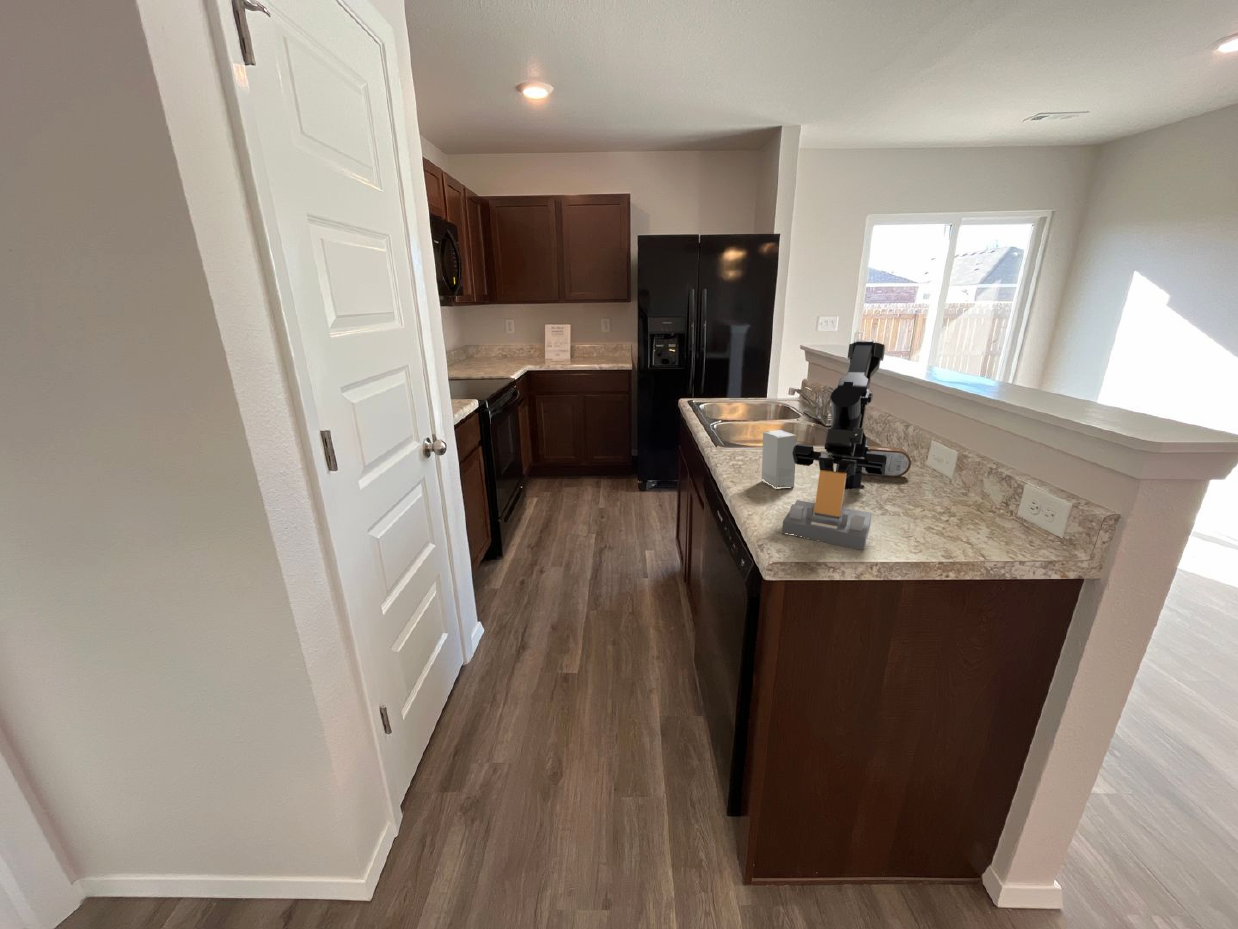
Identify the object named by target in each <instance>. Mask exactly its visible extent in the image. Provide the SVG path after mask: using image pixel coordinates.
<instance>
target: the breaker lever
mask: <svg viewBox="0 0 1238 929" xmlns="http://www.w3.org/2000/svg"><path fill="white" fill-rule="evenodd" d="M846 475H847V473H841V472H836V471H835V470H834V471H826V470H819V475H818V482H817V490H816V497H815V502H814V503H815V510H814V512H815V515H818V516H823V517H829V518H834V519H839V518H840V515H841V510H842V508H843V501H844V497H845V482H846Z"/></svg>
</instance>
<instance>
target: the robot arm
mask: <svg viewBox="0 0 1238 929" xmlns="http://www.w3.org/2000/svg"><path fill="white" fill-rule="evenodd" d="M885 351H886V347H885V344H884V343H881V342H877V341H875V340H873V339H870V340H869V339H858V340H855V341H854V342H853V343H849V345H848V351H847V356H846V358H847V360H850V361H849V367H848V370H847V374H846V375H845V376H843V377H840V379H839V381H838V384H837V386H835V387H834V388H833V391H832V392H831V394H830V403H831V414H832V421H831V422H832V423H831V427H830V428H827V430H826V436H825V444H824V450H825V451H824V450H821V451H815V450H814V445H812V444H806V443H805V444H802V443H796V445H795V446H794V448H793V453H792V454H793V458H794V462H795V465H799V466H807V467H810V466H812V465H813V464H814V462H815V461H818V468H819V471H821V470H826V471H834V472H841V473H847V475H846V482H845V489H844V491H845V490H852V489H862V488H865V485H864V484H862V479H863V478H862V477H863V474H862V467H863V468H865V471H866V472H867V473H868V474H872V475H871V476H875V475H880V476H879V477H884V476H883V475H885V470H886V463H887V456H886V454H885V453H876V452H871V451H870V450H869V446H870V445H868V439H867V437H866V434H865V432H864V424H865V416H866V411H867V405H869V404H871V403H872V401H873V398H874V394H873V393H872V392H873V391H872V389H871V388H870V385H871V381H872V377H873V376H874V375H875V374H876V372H877V371H878V370H879V369H880V365H881V361H884V359H885V358H884V357H885ZM834 464H835V465H836V467H835V468H836V469H835V468H834Z"/></svg>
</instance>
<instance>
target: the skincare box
mask: <svg viewBox="0 0 1238 929" xmlns="http://www.w3.org/2000/svg"><path fill="white" fill-rule="evenodd" d="M797 438H798V435H797V434H794V433H790V432H789V431H788V432H787V431H784V430H781V429H777V430H769V431H763V433H762V453H761V454H762V456H761V457H762V458H761V460H762V461H761V480H762V479H764V480H765V481H766V482H768V483H769V484H771V485H773V486H774V487H776V488H777V487H794V488H795V478H796V475H795V474H796V464H795V462H794V458H793V454H792V453H793V448H794V446H795V445H797Z"/></svg>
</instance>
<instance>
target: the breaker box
mask: <svg viewBox="0 0 1238 929" xmlns="http://www.w3.org/2000/svg"><path fill="white" fill-rule="evenodd" d="M815 503H816V502H810V501H804V500H798V499H796V501H795V502H794V504H791V505H790V508H789V511H788V512H787V514H786V516H785V517H784V519H783V520H782V528H781V533H782V532H783V533H788V534H794V535H797V536H802V537H805V538H804V539H806V538H809V539H808V540H811V539H812V540H811V541H816V540H819V541H818V542H820V541H823V542H822V543H825V542H826V544H831V545H834V546H835V545H836V546H842V547H846V548H851V549H856V550H858V551H859V550H860V551H865V547H866V543H867V539H868V536H869V531H870V528H871V522H872V517H873V515H872V514H873V512H869V511H863V510H858V509H853V508H852V509H851V508H847V507H842V510H841V515H840V518H839V519H834V518H829V517H823V516H818V515H815V512H814V510H815Z"/></svg>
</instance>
